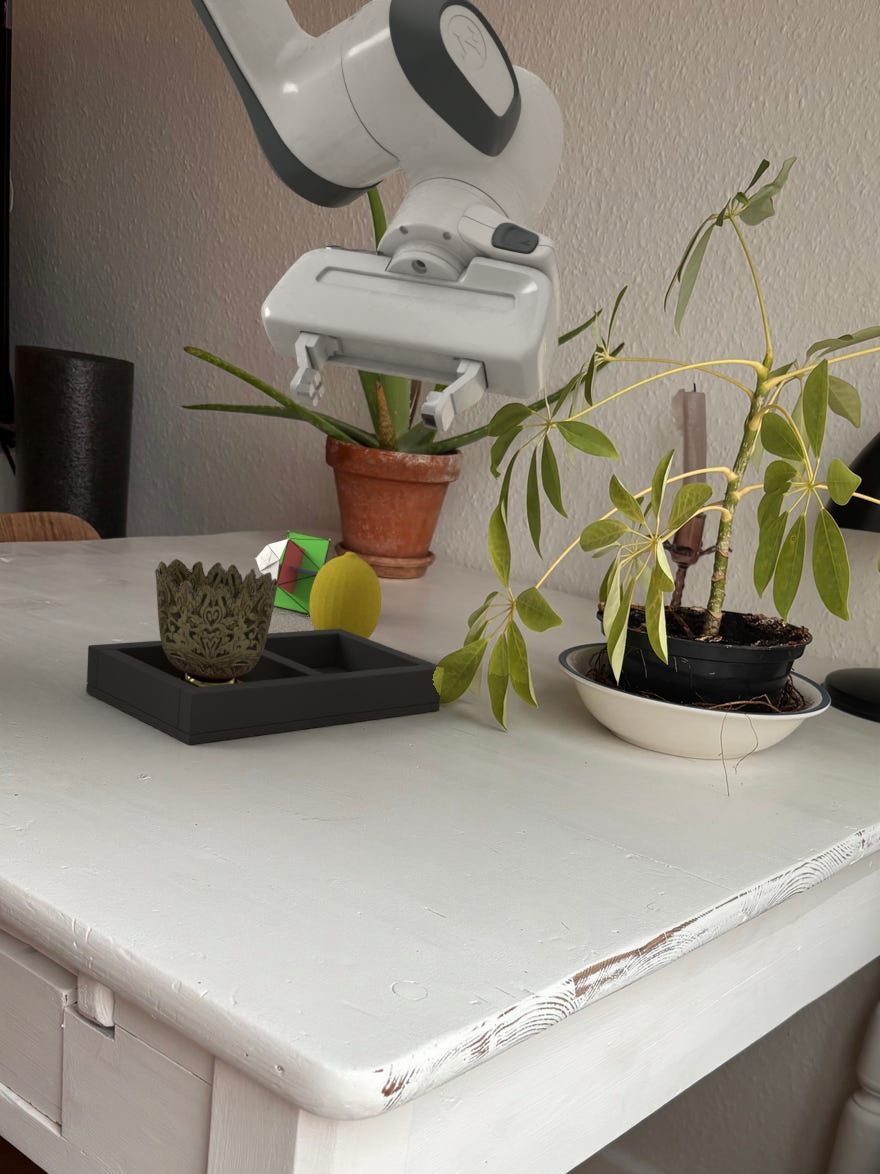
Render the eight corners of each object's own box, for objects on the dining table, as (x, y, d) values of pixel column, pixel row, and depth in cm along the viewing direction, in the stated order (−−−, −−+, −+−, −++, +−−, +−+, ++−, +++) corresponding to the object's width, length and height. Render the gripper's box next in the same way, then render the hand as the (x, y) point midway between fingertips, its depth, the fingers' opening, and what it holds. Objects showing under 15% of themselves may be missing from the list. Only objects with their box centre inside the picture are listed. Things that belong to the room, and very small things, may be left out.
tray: (85, 692, 82) (87, 644, 81) (335, 668, 97) (339, 628, 96) (188, 745, 75) (192, 693, 74) (439, 710, 90) (445, 667, 89)
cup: (262, 720, 79) (274, 591, 76) (140, 706, 78) (147, 574, 75) (270, 689, 86) (282, 569, 83) (158, 675, 85) (165, 553, 82)
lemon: (317, 661, 98) (328, 556, 95) (296, 643, 102) (306, 542, 99) (384, 664, 100) (397, 561, 97) (361, 646, 105) (373, 547, 102)
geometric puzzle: (293, 570, 120) (272, 503, 113) (359, 585, 118) (342, 517, 111) (257, 624, 116) (234, 558, 109) (325, 640, 114) (305, 574, 107)
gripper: (298, 205, 89) (211, 347, 84) (578, 243, 83) (504, 399, 78) (320, 281, 94) (241, 419, 89) (584, 322, 89) (516, 472, 84)
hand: (366, 410), depth 84 cm, fingers open, 8 cm apart
